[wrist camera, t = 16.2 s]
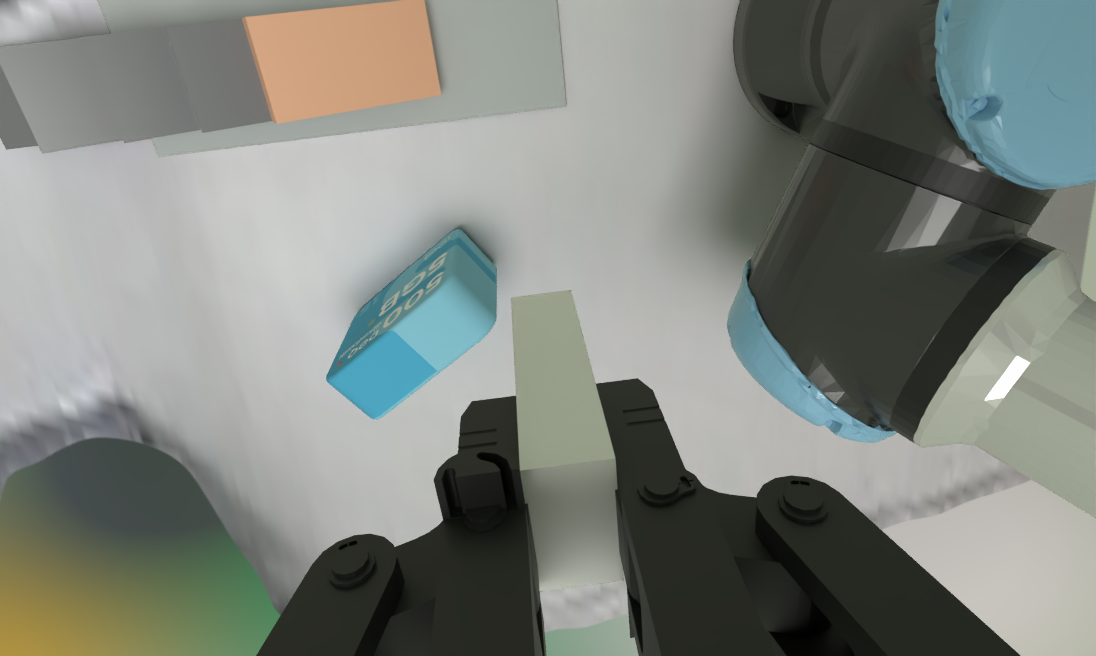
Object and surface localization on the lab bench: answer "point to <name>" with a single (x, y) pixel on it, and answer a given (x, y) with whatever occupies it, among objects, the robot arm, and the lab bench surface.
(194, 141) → the mat
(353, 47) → the domino
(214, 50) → the domino
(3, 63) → the domino
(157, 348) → the lab bench surface
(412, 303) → the data package
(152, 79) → the domino
